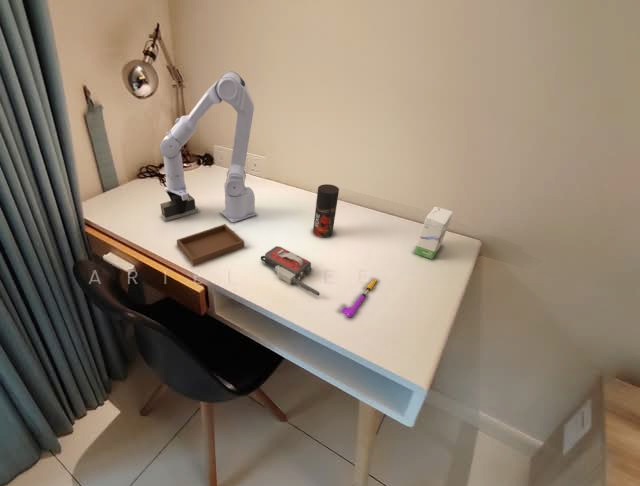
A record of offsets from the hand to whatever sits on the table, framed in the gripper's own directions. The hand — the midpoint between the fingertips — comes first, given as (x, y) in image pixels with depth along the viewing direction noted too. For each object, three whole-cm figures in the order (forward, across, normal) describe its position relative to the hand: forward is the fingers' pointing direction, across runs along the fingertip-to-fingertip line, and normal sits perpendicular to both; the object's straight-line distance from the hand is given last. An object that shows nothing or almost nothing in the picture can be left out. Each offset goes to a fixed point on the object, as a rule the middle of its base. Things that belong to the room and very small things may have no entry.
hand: (179, 210), depth 120 cm
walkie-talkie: (+2, +46, +13) cm, 48 cm away
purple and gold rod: (+2, +61, +21) cm, 65 cm away
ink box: (+2, +58, +52) cm, 78 cm away
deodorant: (+2, +35, +33) cm, 48 cm away
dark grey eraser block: (+1, 0, 0) cm, 1 cm away
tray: (+1, +23, 0) cm, 23 cm away
